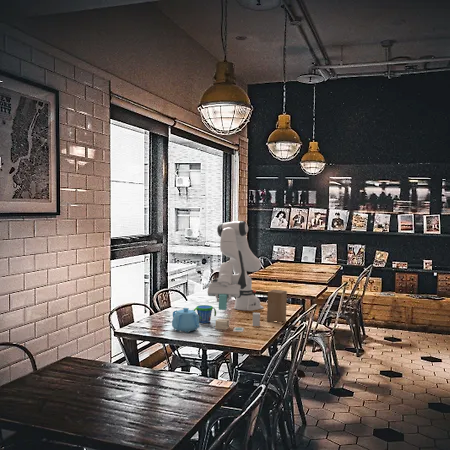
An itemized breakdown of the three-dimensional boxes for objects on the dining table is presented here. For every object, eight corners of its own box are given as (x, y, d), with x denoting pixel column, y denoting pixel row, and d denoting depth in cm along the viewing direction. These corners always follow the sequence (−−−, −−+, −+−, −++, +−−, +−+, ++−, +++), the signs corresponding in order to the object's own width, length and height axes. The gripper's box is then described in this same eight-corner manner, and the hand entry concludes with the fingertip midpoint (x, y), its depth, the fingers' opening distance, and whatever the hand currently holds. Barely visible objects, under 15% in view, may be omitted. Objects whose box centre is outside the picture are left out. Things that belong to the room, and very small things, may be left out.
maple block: (218, 326, 320) (218, 318, 319) (229, 327, 318) (229, 319, 317) (215, 328, 313) (215, 320, 313) (226, 329, 311) (226, 321, 311)
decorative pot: (197, 327, 316) (198, 305, 316) (200, 333, 300) (200, 310, 300) (171, 327, 314) (172, 305, 314) (172, 333, 298) (172, 310, 298)
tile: (234, 327, 316) (234, 326, 316) (243, 328, 315) (243, 327, 315) (233, 331, 307) (233, 330, 307) (243, 331, 306) (243, 330, 306)
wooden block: (266, 321, 336) (267, 291, 335) (272, 318, 344) (273, 289, 344) (280, 323, 331) (281, 293, 330) (286, 320, 340) (287, 290, 339)
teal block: (219, 308, 317) (219, 294, 317) (226, 308, 317) (226, 294, 316) (218, 309, 313) (219, 295, 312) (225, 310, 312) (226, 295, 312)
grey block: (252, 324, 325) (253, 312, 325) (259, 325, 325) (260, 312, 324) (252, 326, 321) (252, 314, 320) (259, 326, 320) (259, 314, 320)
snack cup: (193, 324, 322) (194, 308, 321) (191, 320, 332) (191, 305, 332) (217, 323, 326) (218, 308, 325) (214, 319, 336) (214, 304, 335)
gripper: (241, 286, 324) (239, 305, 315) (209, 285, 326) (207, 303, 317) (240, 281, 320) (239, 299, 310) (208, 279, 322) (206, 297, 312)
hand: (222, 301), depth 314 cm, fingers closed on teal block, 4 cm apart
